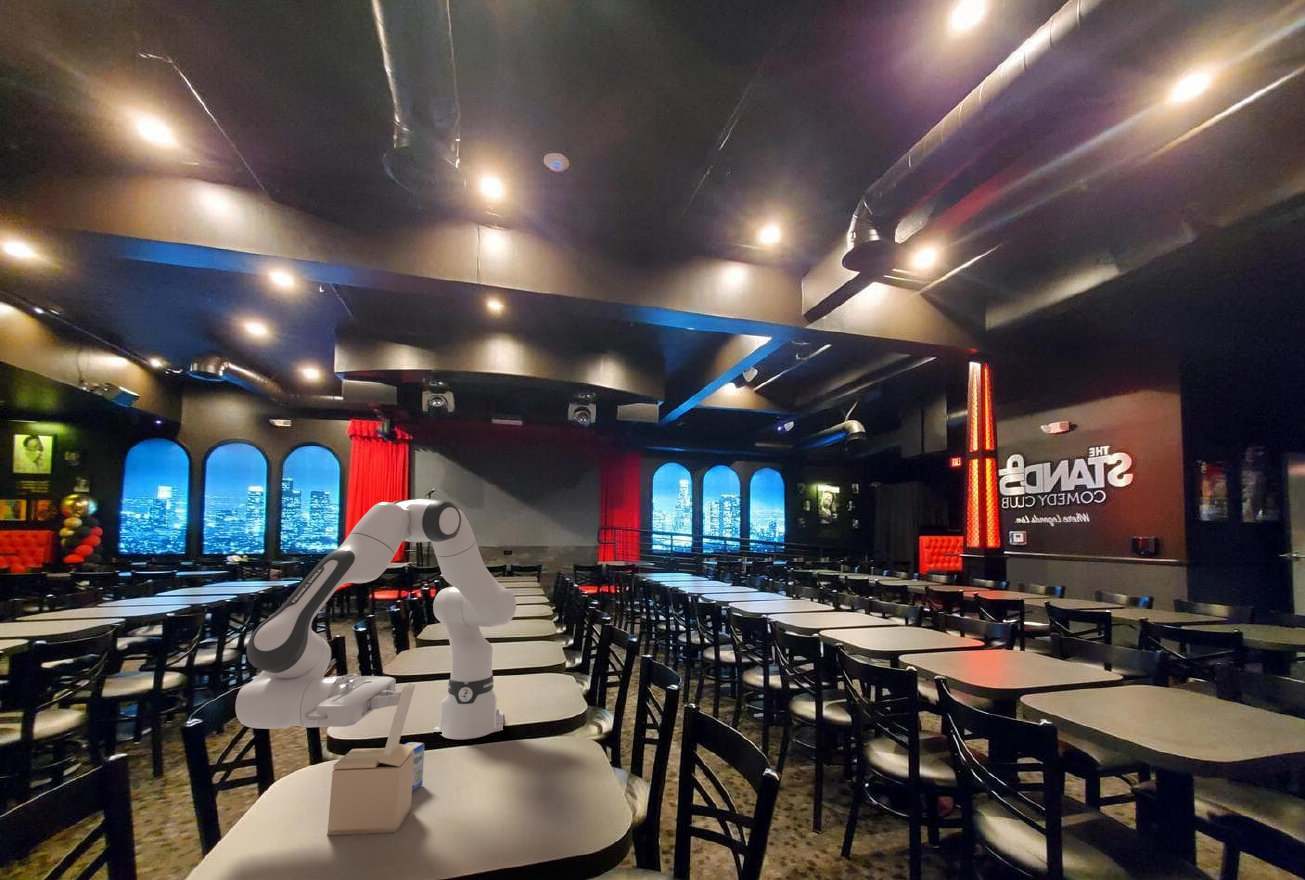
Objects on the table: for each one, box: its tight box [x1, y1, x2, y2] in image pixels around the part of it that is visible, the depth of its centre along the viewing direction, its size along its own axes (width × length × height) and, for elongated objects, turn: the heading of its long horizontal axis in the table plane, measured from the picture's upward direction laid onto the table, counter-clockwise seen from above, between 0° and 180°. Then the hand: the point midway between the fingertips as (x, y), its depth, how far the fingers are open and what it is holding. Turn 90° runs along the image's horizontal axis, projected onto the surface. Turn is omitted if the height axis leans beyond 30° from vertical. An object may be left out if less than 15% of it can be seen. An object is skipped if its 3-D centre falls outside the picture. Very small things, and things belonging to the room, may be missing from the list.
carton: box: [326, 747, 414, 836], centre depth 105 cm, size 8×12×12 cm, turn 95°
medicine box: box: [403, 741, 425, 793], centre depth 117 cm, size 8×4×9 cm, turn 168°
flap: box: [379, 683, 416, 767], centre depth 108 cm, size 8×4×13 cm, turn 4°
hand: (401, 698), depth 108 cm, fingers closed, pressing on flap
